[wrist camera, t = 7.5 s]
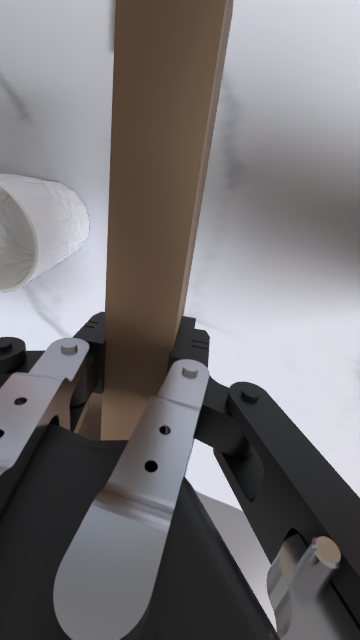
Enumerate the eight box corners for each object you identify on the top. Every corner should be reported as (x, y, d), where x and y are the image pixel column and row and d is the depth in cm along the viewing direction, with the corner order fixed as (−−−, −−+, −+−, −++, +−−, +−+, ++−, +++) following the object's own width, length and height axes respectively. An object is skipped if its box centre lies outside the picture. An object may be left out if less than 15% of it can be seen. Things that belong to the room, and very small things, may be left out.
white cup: (46, 270, 30) (-26, 307, 22) (1, 195, 28) (-103, 201, 19) (110, 242, 28) (60, 270, 19) (68, 158, 26) (-13, 144, 17)
